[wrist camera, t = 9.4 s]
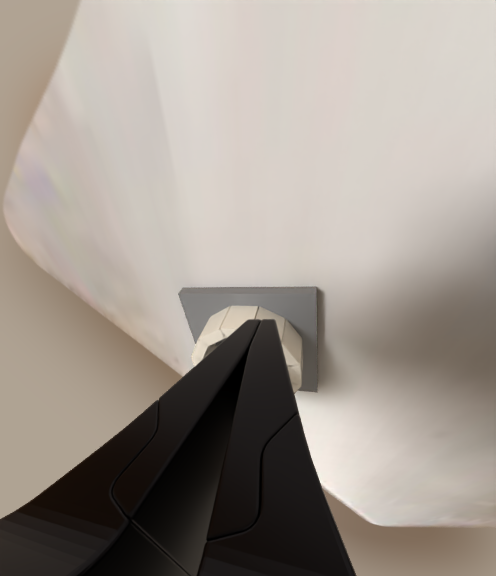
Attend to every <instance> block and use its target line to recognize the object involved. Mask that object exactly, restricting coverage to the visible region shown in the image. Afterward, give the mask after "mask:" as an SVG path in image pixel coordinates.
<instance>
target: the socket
mask: <svg viewBox="0 0 496 576" xmlns="http://www.w3.org/2000/svg"><path fill="white" fill-rule="evenodd" d="M178 295H179V298H180V301H181V304H182V306H183V309H184V312H185V315H186V318H187V321H188V324H189V327H190V330H191V332H192V335H193V338H194V341H195V344H196V345H195V348H194V351H193V353H192V356H191V358H192V361H193V364H194V366H196V365H197V364H198V363H199V362H200V361H201V360H203V359H204V358H205V357H206V356H207V355H208V354H209V353H210V352H212V351H213V350H214V349H215V348H216V347H217V346H218V345H219V344H221V343H222V342H223V341H224V340H225V339H226V338H227V337H228V336H230V335H231V334H232V333H233V332H234V331H235V330H236V329H237V328H239V327H240V326H241V325H242V324H243V323H244V322H245V321H247V320H248V319H260V320H263V319H275V320H276V323H277V327H278V331H279V335H280V339H281V343H282V347H283V351H284V355H285V359H286V363H287V367H288V371H289V375H290V379H291V383H292V387H293V391H294V394H295V393H296V392H297V390H299V391H309V392H318V383H317V297H316V287H230V288H182V290H181V291H180V292H179V293H178Z"/></svg>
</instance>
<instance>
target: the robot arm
mask: <svg viewBox="0 0 496 576" xmlns="http://www.w3.org/2000/svg"><path fill="white" fill-rule="evenodd" d="M0 576H356V573H355V571H354V568H353V566H352V563H351V561H350V558H349V556H348V553H347V550H346V548H345V545H344V543H343V540H342V538H341V535H340V533H339V530H338V527H337V525H336V522H335V520H334V517H333V515H332V512H331V509H330V507H329V505H328V502H327V499H326V497H325V494H324V492H323V489H322V486H321V483H320V481H319V478H318V475H317V472H316V469H315V467H314V464H313V461H312V458H311V455H310V451H309V448H308V445H307V441H306V438H305V434H304V430H303V426H302V422H301V418H300V416H299V411H298V407H297V403H296V399H295V395H294V391H293V387H292V383H291V379H290V375H289V371H288V367H287V363H286V359H285V355H284V351H283V347H282V343H281V339H280V335H279V331H278V327H277V323H276V320H275V319H263V320H260V319H248V320H247V321H245V322H244V323H243V324H242V325H241V326H240V327H239V328H237V329H236V330H235V331H234V332H233V333H232V334H231V335H230V336H228V337H227V338H226V339H225V340H224V341H223V342H222V343H221V344H219V345H218V346H217V347H216V348H215V349H214V350H213V351H212V352H210V353H209V354H208V355H207V356H206V357H205V358H204V359H203V360H201V361H200V362H199V363H198V364H197V365H196V366H195V367H194V368H192V369H191V370H190V371H189V372H188V373H187V374H186V375H185V376H183V377H182V378H181V379H180V380H179V381H178V382H177V383H176V384H175V385H173V386H172V387H171V388H170V389H169V390H168V391H167V392H166V393H164V394H163V395H162V396H161V397H160V398H159V400H157V401H155V402H154V403H153V404H152V405H151V406H150V407H148V408H147V409H146V410H145V411H144V412H143V413H142V414H141V415H139V416H138V417H137V418H136V419H135V420H134V421H132V422H131V423H130V424H129V425H128V426H126V427H125V428H124V429H123V430H122V431H120V432H119V433H118V434H117V435H115V436H114V437H113V438H112V439H110V440H109V441H108V442H107V443H105V444H104V445H103V446H102V447H100V448H99V449H98V450H96V451H95V452H94V453H92V454H91V455H90V456H89V457H87V458H86V459H85V460H83V461H82V462H81V463H80V464H78V465H77V466H76V467H74V468H73V469H72V470H70V471H69V472H68V473H67V474H65V475H64V476H63V477H62V478H60V479H59V480H58V481H56V482H55V483H54V484H52V485H51V486H50V487H48V488H47V489H46V490H44V491H43V492H42V493H41V494H40V495H38V496H37V497H35V498H34V499H33V500H31V501H30V502H28V503H27V504H25V505H24V506H22V507H20V508H19V509H17V510H16V511H14V512H13V513H11V514H9V515H7V516H5V517H3V518H2V519H0Z"/></svg>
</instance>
